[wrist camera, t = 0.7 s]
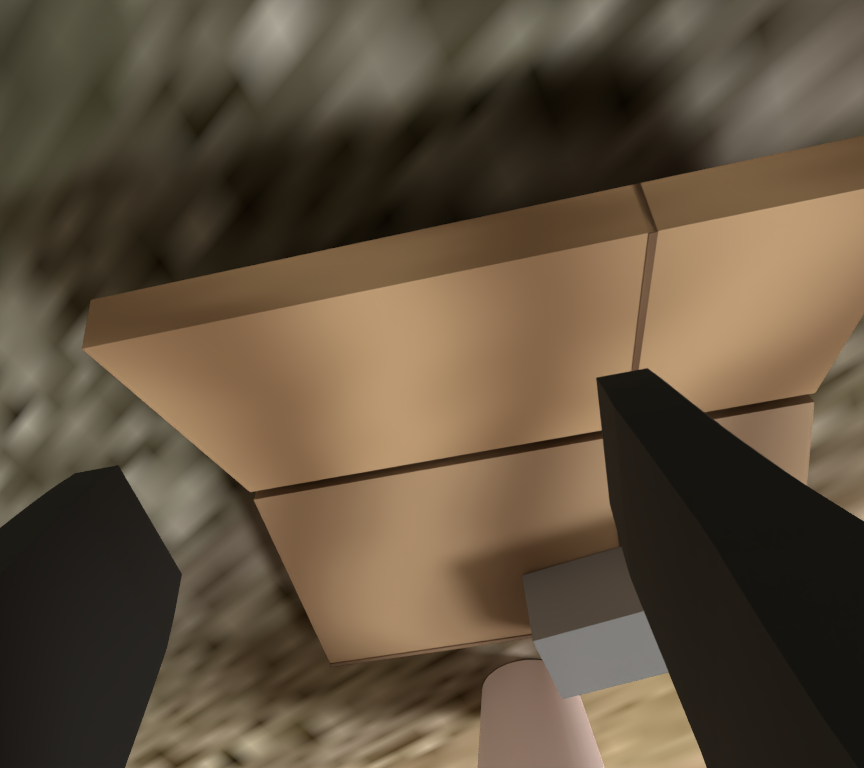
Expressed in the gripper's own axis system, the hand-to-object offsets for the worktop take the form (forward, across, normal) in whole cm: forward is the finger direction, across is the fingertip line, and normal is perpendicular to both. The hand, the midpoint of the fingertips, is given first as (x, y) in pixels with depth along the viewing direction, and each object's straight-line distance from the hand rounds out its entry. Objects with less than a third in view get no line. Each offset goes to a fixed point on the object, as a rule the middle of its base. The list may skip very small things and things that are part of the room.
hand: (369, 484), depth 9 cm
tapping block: (+9, -5, +12) cm, 16 cm away
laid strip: (+10, -2, +11) cm, 15 cm away
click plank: (+8, -2, +2) cm, 8 cm away
